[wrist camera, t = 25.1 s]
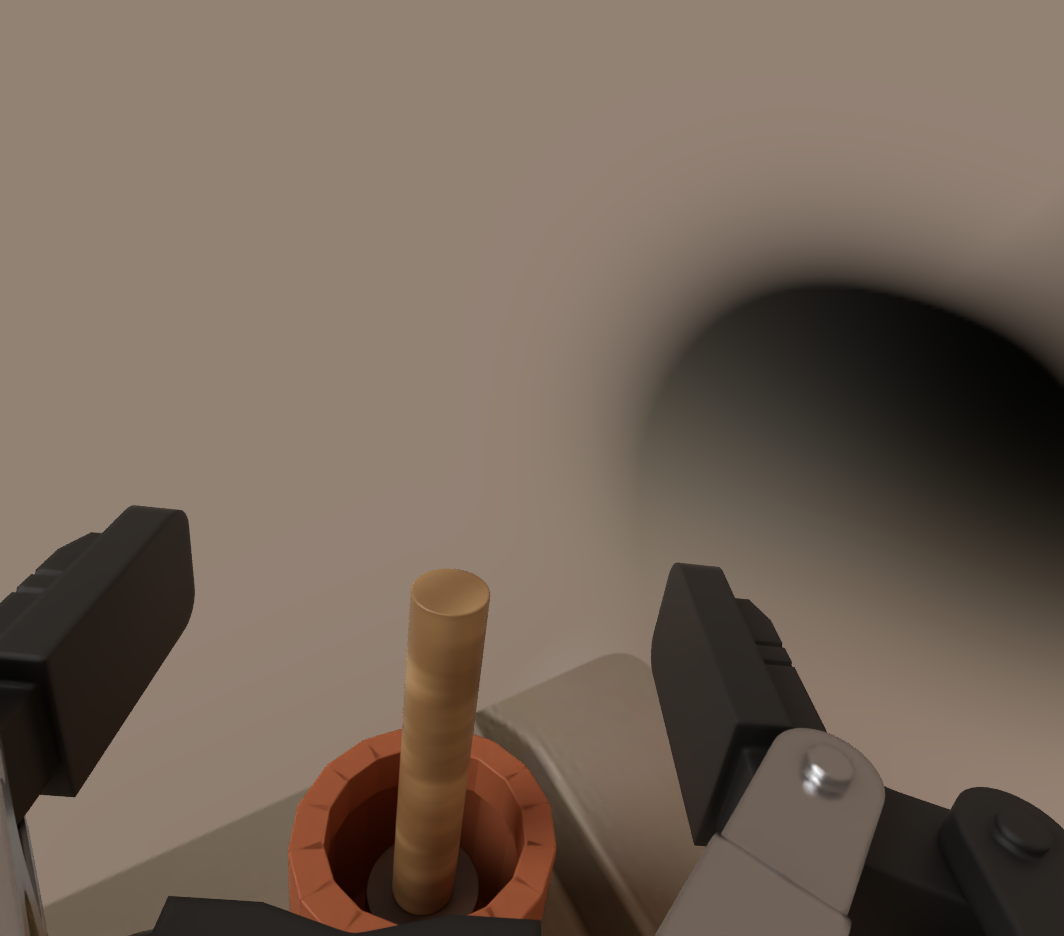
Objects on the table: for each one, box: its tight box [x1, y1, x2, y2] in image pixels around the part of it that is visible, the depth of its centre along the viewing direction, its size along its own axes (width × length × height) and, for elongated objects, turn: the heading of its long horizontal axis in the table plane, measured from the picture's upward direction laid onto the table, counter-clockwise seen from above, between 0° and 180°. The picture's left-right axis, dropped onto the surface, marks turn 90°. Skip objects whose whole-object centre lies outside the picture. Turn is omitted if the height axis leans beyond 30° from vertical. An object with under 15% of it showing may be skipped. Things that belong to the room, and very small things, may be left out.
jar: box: [288, 729, 557, 933], centre depth 29 cm, size 10×10×10 cm
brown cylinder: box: [365, 569, 490, 925], centre depth 26 cm, size 4×4×20 cm
